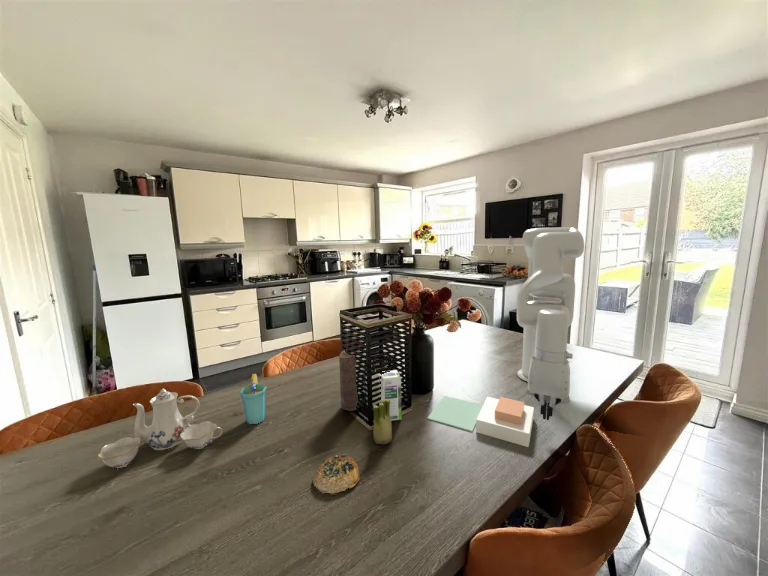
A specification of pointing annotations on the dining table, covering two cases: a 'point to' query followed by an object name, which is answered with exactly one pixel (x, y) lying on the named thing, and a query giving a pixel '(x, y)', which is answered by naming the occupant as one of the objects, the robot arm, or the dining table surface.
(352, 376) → the candle
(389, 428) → the fennel bulb
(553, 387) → the robot arm
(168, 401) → the chinaware
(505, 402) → the tile
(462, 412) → the mat
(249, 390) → the cup
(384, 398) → the syrup box
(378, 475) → the dining table surface
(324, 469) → the bread roll
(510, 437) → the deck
